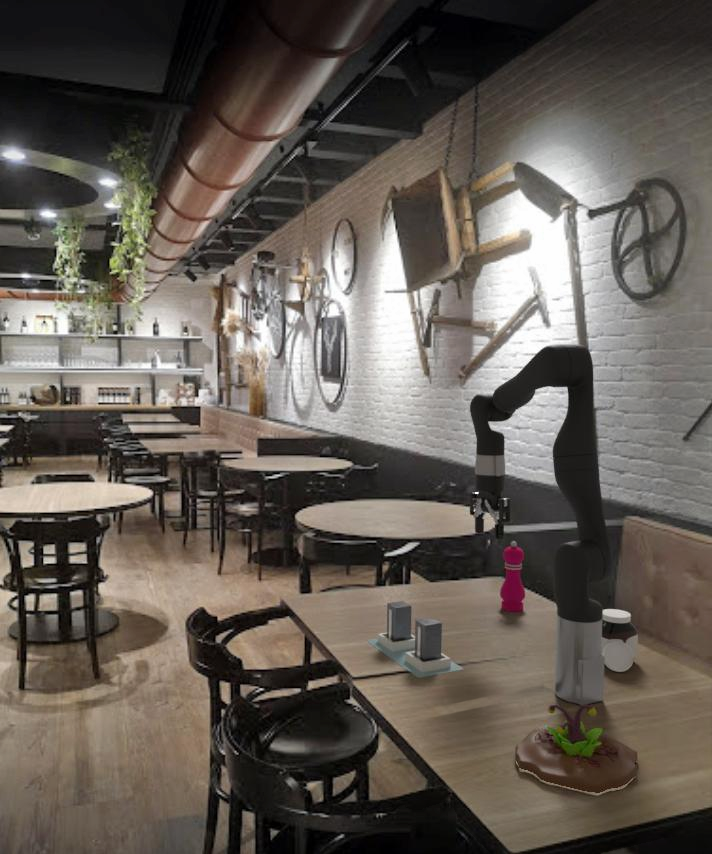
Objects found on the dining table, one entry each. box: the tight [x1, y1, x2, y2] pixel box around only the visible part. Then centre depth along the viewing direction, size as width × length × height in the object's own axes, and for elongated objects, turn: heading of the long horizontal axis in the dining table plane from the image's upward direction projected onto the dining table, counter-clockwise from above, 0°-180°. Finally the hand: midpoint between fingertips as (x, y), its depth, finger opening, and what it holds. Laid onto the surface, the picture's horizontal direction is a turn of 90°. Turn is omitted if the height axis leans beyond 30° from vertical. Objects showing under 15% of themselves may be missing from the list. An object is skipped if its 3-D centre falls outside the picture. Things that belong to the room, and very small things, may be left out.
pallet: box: [365, 631, 464, 679], centre depth 181 cm, size 26×12×4 cm, turn 26°
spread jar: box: [601, 608, 639, 673], centre depth 179 cm, size 12×11×12 cm
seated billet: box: [414, 617, 443, 662], centre depth 174 cm, size 4×5×10 cm
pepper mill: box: [499, 540, 526, 613], centre depth 221 cm, size 7×7×20 cm
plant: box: [514, 704, 638, 793], centre depth 133 cm, size 20×20×11 cm
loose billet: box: [386, 600, 412, 642], centre depth 187 cm, size 4×5×10 cm
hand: (488, 535), depth 193 cm, fingers open, 8 cm apart
